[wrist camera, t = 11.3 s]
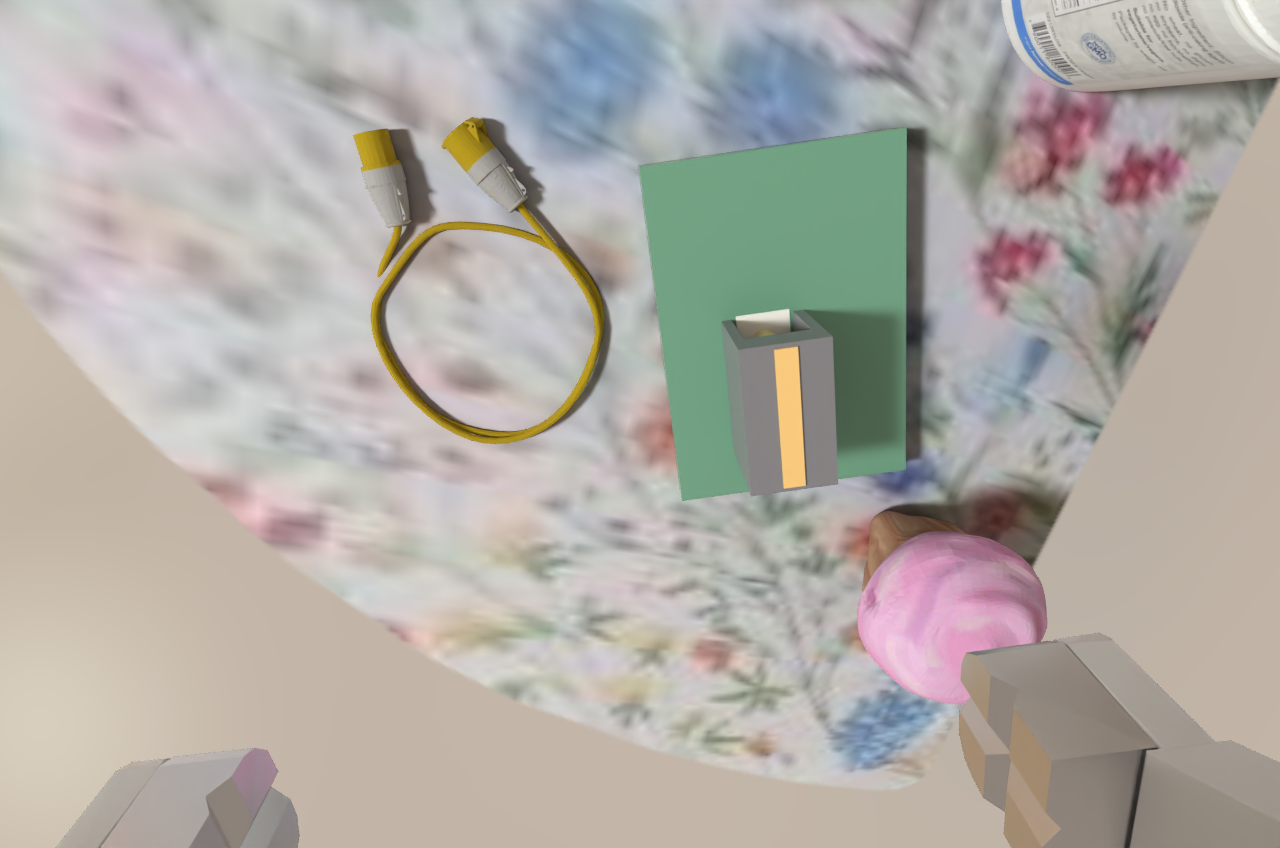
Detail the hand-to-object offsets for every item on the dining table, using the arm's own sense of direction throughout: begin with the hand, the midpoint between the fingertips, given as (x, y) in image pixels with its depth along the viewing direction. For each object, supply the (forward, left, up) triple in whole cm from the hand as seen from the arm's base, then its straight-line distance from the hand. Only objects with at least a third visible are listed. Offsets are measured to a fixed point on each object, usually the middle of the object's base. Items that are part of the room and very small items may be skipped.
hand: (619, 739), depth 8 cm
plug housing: (+6, +7, -28) cm, 29 cm away
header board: (+3, +8, -29) cm, 30 cm away
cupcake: (+18, +14, -29) cm, 37 cm away
